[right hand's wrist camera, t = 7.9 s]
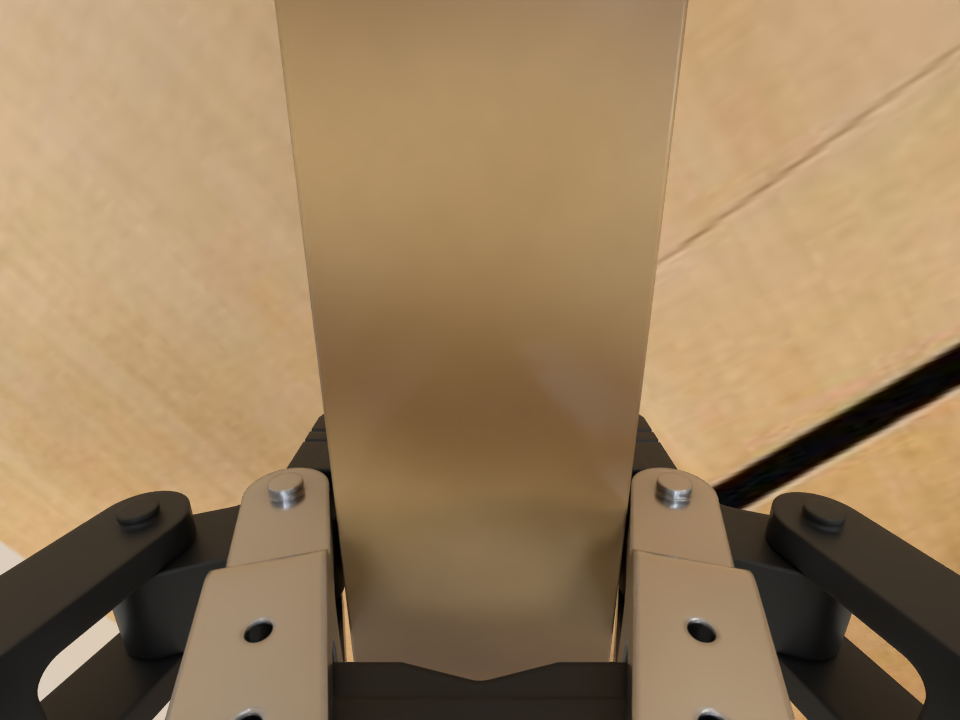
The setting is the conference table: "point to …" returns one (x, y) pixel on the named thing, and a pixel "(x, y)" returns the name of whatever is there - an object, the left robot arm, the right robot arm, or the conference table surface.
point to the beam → (481, 307)
